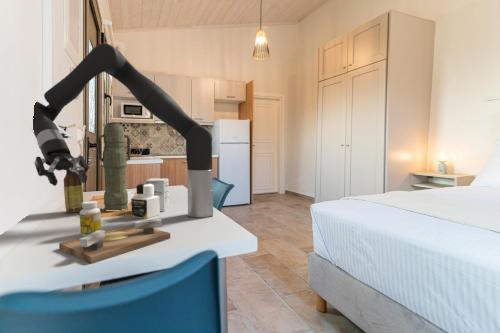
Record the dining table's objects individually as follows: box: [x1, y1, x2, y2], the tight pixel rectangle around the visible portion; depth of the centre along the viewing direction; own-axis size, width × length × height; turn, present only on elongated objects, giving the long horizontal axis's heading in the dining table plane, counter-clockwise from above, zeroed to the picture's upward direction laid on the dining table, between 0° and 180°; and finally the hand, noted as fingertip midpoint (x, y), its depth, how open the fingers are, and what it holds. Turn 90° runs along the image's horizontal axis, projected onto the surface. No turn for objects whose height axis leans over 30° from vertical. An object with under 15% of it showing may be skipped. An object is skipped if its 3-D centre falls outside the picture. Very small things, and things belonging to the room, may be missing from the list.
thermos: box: [97, 122, 132, 211], centre depth 120 cm, size 9×12×35 cm
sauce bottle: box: [63, 164, 84, 214], centre depth 116 cm, size 7×6×20 cm
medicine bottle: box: [130, 183, 161, 220], centre depth 109 cm, size 7×7×12 cm
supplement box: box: [145, 178, 170, 213], centre depth 120 cm, size 7×7×13 cm
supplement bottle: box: [79, 200, 102, 237], centre depth 87 cm, size 5×5×10 cm
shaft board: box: [58, 218, 171, 264], centre depth 79 cm, size 16×23×5 cm
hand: (70, 182), depth 93 cm, fingers open, 8 cm apart
